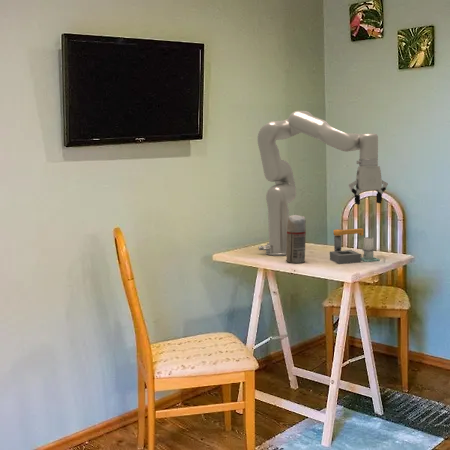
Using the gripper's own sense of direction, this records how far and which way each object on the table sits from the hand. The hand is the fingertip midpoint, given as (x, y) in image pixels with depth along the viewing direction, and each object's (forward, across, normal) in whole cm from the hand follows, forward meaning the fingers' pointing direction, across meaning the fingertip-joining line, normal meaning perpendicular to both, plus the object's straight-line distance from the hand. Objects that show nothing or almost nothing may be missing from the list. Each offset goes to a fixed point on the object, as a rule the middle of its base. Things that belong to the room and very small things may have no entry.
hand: (368, 203), depth 282 cm
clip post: (+24, -10, +10) cm, 28 cm away
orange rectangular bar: (+15, -5, +10) cm, 19 cm away
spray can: (+25, -30, +7) cm, 39 cm away
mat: (+24, 0, 0) cm, 24 cm away
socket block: (+24, -10, +2) cm, 26 cm away
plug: (+24, 0, 0) cm, 24 cm away
